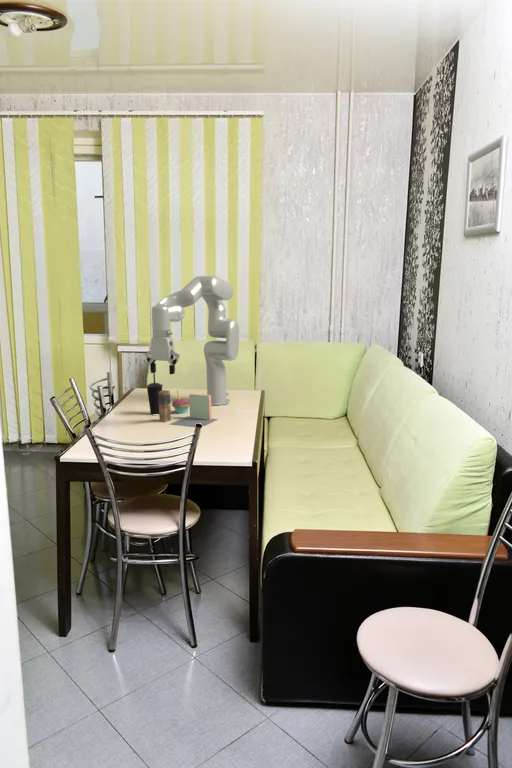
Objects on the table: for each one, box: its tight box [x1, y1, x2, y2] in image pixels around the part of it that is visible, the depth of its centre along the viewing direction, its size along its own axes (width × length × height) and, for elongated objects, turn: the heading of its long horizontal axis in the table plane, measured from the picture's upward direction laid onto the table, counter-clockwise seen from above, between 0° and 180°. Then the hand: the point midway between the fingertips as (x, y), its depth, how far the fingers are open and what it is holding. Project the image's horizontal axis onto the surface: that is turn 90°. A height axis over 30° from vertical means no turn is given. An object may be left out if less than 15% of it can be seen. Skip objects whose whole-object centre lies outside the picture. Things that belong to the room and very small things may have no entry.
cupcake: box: [171, 389, 190, 414], centre depth 291 cm, size 9×8×12 cm
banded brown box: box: [158, 389, 172, 423], centre depth 275 cm, size 5×3×14 cm
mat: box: [168, 415, 219, 428], centre depth 274 cm, size 16×16×1 cm
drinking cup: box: [145, 372, 164, 415], centre depth 291 cm, size 8×8×20 cm
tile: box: [188, 393, 213, 420], centre depth 278 cm, size 2×10×11 cm, turn 65°
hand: (162, 373), depth 272 cm, fingers open, 9 cm apart
